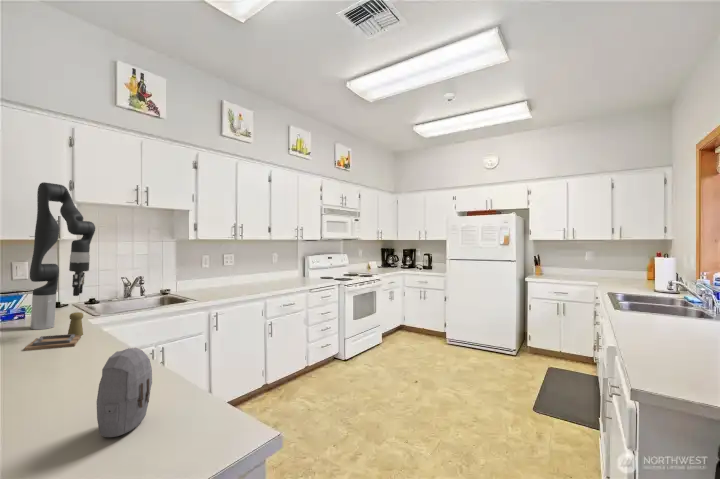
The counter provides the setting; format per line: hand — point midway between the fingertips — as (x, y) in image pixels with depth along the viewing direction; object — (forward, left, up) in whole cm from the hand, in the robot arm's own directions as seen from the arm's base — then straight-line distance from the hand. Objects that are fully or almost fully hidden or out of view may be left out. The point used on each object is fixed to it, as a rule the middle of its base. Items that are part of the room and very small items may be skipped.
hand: (77, 294), depth 169 cm
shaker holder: (+14, -5, -20) cm, 25 cm away
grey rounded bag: (+111, +27, -20) cm, 116 cm away
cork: (0, 0, -20) cm, 20 cm away
